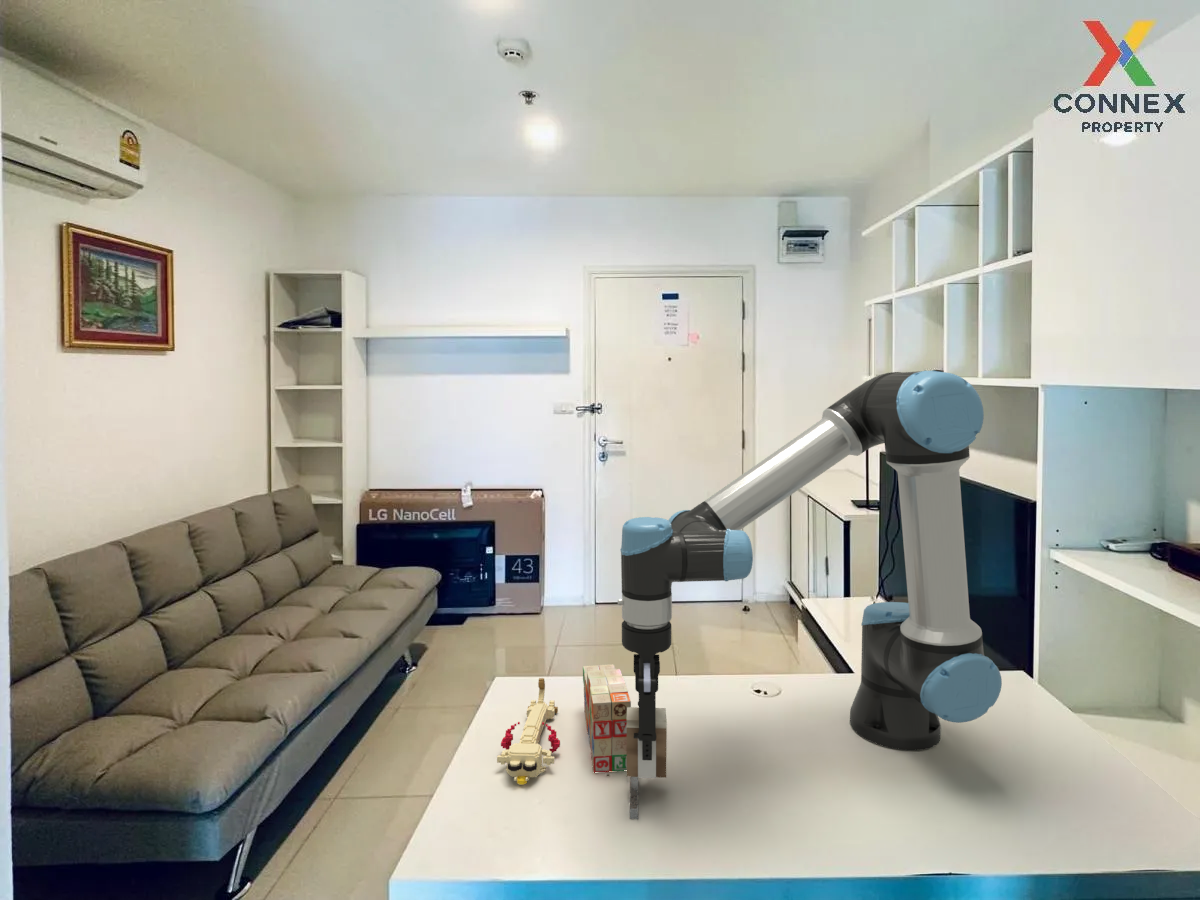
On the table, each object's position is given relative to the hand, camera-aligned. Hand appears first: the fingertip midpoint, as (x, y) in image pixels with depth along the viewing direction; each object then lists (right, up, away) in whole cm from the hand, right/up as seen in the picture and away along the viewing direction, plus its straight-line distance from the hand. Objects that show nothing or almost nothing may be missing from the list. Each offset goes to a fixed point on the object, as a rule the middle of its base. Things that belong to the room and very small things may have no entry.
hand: (646, 767), depth 105 cm
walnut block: (0, 0, 0) cm, 0 cm away
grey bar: (-2, -4, 0) cm, 5 cm away
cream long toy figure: (-19, -3, +14) cm, 24 cm away
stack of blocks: (-6, -3, +17) cm, 18 cm away
